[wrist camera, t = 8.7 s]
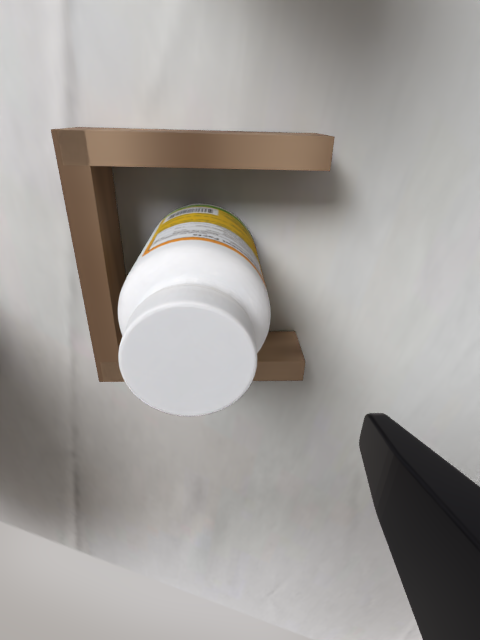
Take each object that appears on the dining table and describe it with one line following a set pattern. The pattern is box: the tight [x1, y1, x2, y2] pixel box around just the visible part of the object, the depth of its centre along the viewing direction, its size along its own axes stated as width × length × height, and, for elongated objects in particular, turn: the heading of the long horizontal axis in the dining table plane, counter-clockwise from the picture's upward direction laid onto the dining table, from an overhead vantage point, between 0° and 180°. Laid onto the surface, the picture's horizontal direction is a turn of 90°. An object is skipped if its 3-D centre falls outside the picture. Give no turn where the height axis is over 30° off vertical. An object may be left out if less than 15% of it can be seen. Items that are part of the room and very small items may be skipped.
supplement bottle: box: [118, 204, 271, 416], centre depth 15 cm, size 5×5×10 cm
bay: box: [51, 127, 334, 382], centre depth 18 cm, size 10×11×3 cm
